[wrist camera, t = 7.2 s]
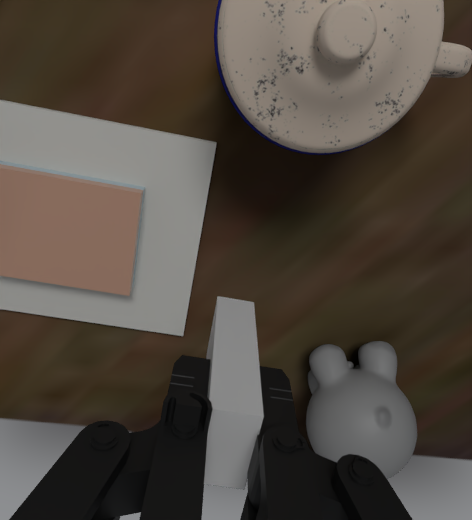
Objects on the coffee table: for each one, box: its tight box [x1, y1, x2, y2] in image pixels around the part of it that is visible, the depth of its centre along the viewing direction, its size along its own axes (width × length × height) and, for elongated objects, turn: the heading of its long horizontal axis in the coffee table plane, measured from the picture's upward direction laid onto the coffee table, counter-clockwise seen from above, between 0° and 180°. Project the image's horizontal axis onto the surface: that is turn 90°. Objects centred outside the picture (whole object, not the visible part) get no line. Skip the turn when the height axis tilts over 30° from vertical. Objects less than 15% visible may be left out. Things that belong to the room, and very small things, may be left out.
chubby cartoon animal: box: [306, 341, 417, 479], centre depth 31 cm, size 7×12×8 cm, turn 179°
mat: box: [0, 100, 217, 336], centre depth 28 cm, size 18×14×1 cm
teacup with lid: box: [214, 0, 472, 155], centre depth 20 cm, size 12×9×12 cm
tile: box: [0, 161, 145, 296], centre depth 27 cm, size 2×7×9 cm
